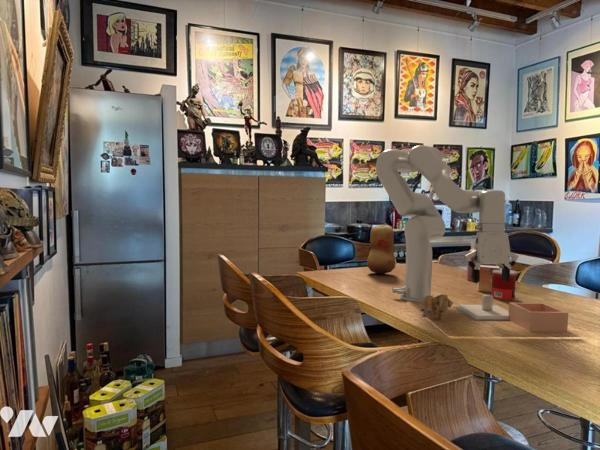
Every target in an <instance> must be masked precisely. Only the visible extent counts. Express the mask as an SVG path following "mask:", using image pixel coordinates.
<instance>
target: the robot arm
mask: <svg viewBox="0 0 600 450" xmlns="http://www.w3.org/2000/svg"><path fill="white" fill-rule="evenodd" d="M443 159H444V158H443V153H442V152H441V150H439V149H438V148H436V147H434V146H428V145H423V144H419V145H416V146H414V147H412V148H411V149H410V150H409V151H408V150H407V151H406V150H400V149H394V148H392V149H386V150H383V151H381V153H380V154H379V155H378V157H377V159H376V163H375V172H376V176H377V178H378V180H379V182H380V184H381V185H382V186H383V188H384V189H385V192H386V194H387V196H388V197H389V199H390V201H391V202H392V205H393V206H394V208H395V210H396V211H397V213H398V214H399V215H400V216H402V217H405V218H406V217H407V218H408V217H409V218H408V219H407V220H406V222H405V224H404V229H403V230H404V237H405V238H404V239H405V272H404V273H405V274H404V275H405V276H404V277H405V279H404V281H405V282H404V285H402V287H399V288H398V287H392V288H391V292H392V293H393V294H398V295H400V298H401V299H402V300H403V301H411V302H419V303H420V302H421V303H424V300H425V297H426V296H428V295H430V296H433V297H435V296H434V295H432V279H433V278H432V275H433V274H432V273H433V272H432V271H433V248H432V247H433V246H432V244H431V241H436V240H439V239H441V238H442V237H443V236H444V235H445V233H446V223H445V221H444V219H443V217H442V215H441V214H440V212H439V210H438V209H437V207H436V205H435V203H434V202H433V201H432V199H431V198H430V197H429V196H428V195H426V194H424V193H422V192H414V191H413V189H411V187H410V185H409V184H408V182H407V181H406V179H404V176H402V175H401V174H400V173H417V172H418V173H419V174H421V175H422V176H423V177H424V178H425V179H426V180H427V182H429V183H430V184H431V187H432V189H433V192H434V193H435V195H436V197H437V198H438V199H439V200H440V201H441V202H442V203H443V204H445V206H446V207H447V208H448V209H450V210H451V211H453V212H455V213H458V214H477V213H478V224H476V225H475V226H474V228H475V230H478V232H476V235H475V240H474V247H473V248H474V251H472V252H471V251H469V253H467V254H465V255H463V258H464V259H465V262H466V265H467V264H468V265H469V266H470V267H471V268H472V278H473V281H476V282H475V283H478V282H479V281H480V270H478V268H479V267H480V266H481V264H497V265H501V266H502V269H501V270H502V280H503V281H506V282H509V278H510V271H511V270H512V269H513V267H514V266H515V265H516V262H517V260H518V259H519V255H518V254H515V253H513V251H511V245H510V240H509V239H510V238H509V235H508V233H507V232H506V231H505V230H506V229H505V228H506V227H505V225H506V224H505V223H506V221H505V220H506V218H505V217H506V193H505V192H504V191H503V190H500V189H498V190H496V189H494V190H493V189H492V190H483V191H482V190H481V191H478V190H468V189H465V190H464V189H462V188H461V187H460V186H459V185H458V184H456V182H454V180H453V179H451V177H450V175H451V173H452V168H451V167H450V166H449V165H448V164H447V163H446V162H445V161H444V160H443ZM473 256H474V262H472V261H471V257H473ZM473 281H472V282H473Z"/></svg>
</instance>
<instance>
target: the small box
mask: <svg viewBox="0 0 600 450" xmlns="http://www.w3.org/2000/svg"><path fill="white" fill-rule="evenodd" d="M479 270H480V281H479V282H477V291H478V292H486V293H491V291H492V272H493V270H501V267H500V266H499V265H497V266H486V265H481V266H480V267H479Z"/></svg>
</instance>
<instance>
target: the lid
mask: <svg viewBox="0 0 600 450" xmlns="http://www.w3.org/2000/svg"><path fill="white" fill-rule="evenodd" d="M481 295H482V297H481V304H458V307H459V309H461V310H463V311H464V312H466V313H467V314H469V315H471V316H472V317H474V318H475V319H498V320H508V315H509V310H508V309H505V308H503V307H501V306H499V305H497V304H494V303H493V302H494V299H493V296H492V295H491V294H481Z"/></svg>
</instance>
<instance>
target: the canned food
mask: <svg viewBox="0 0 600 450" xmlns="http://www.w3.org/2000/svg"><path fill="white" fill-rule="evenodd" d="M516 280H517V272H515V271H512V270H510V278H509V282H506V281H503V280H502V269H500V270H493V272H492V291H491V292H490V293H491V294H490V295H492V296H493V300H494V299H495V300H498V301H504V302H505V301H506V302H512V301H515V296H516Z"/></svg>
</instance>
